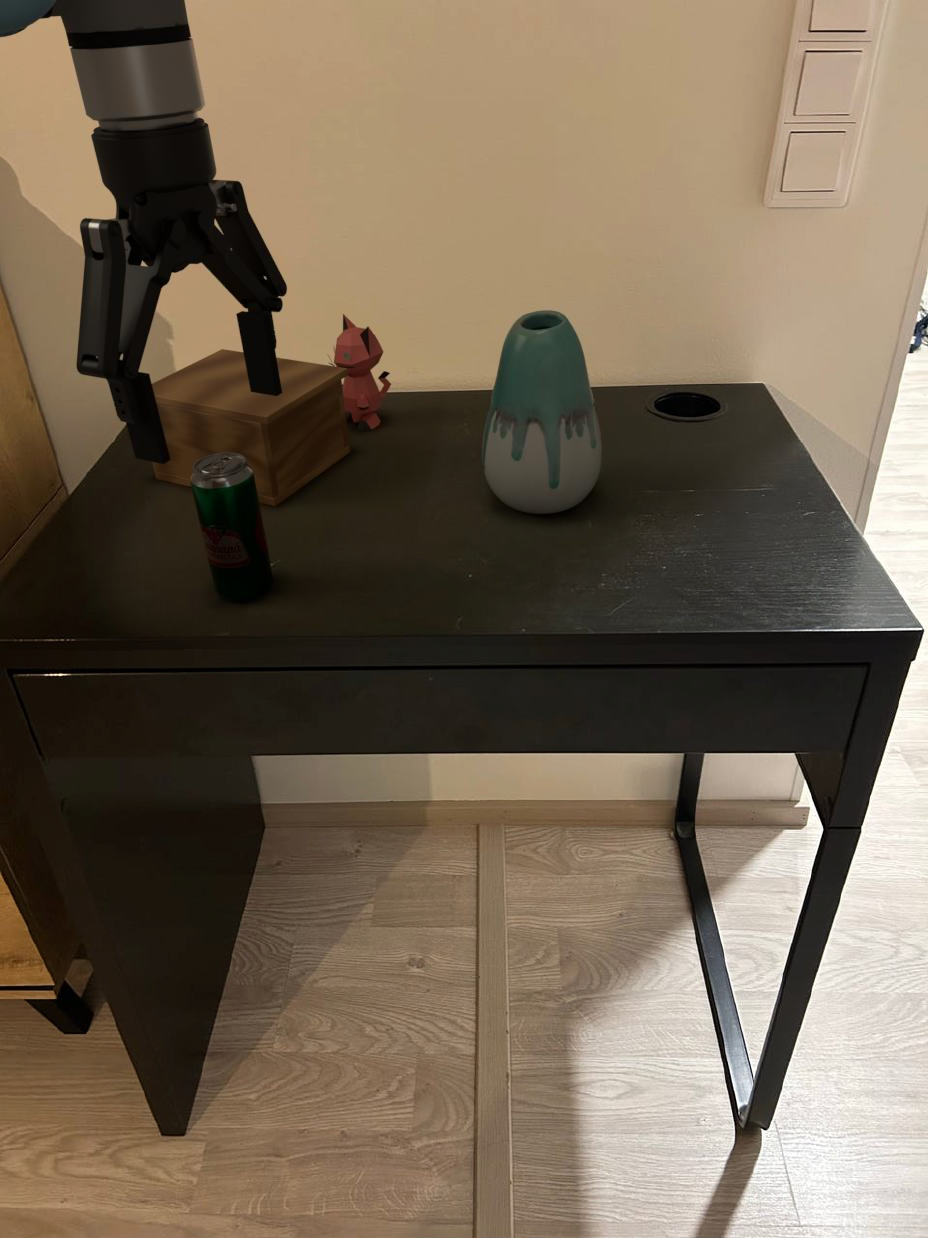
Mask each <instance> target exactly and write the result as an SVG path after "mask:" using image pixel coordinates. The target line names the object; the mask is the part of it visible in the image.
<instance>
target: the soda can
mask: <svg viewBox="0 0 928 1238" xmlns="http://www.w3.org/2000/svg"><path fill="white" fill-rule="evenodd" d="M192 471H193V473H192V476H191V478H190V483H191V487H190V488H191V492H192V496H193V500H194V506H195V509H196V514H197V519H198V522H199V528H200V531H201V537H202V540H203V544H204V548H205V549H204V550H205V554H206V558H207V562H208V567H209V571H210V575H211V579H212V580H211V581H212V584H213V589H214V592H215V593H216V594H217V595H218V596H219V597H220V598H222V599H224V600H226V601H229V602H231V603H232V602H233V603H247V602H251V601H254V600H256V599H259V598H262V597H263V596H264V595H265V594H266V593H267V592H268V591H269V590H270V588H271V587H272V585H273V584H274V576H273V570H272V564H271V558H270V553H269V548H268V542H267V538H266V537H267V536H266V532H265V527H264V520H263V516H262V510H261V505H260V504H261V503H259V499H258V493H257V488H256V483H255V477H254V472H253V469H252V468H251V467H250V466H249V465H248V464H247V460H246V458H245V457H244V456H242V455H240V454H237V453H227V452H226V453H216V454H211V455H208V456H205V457H203V458H200V459H199V460H197V461H196V462H195V463H194V464H193V466H192Z"/></svg>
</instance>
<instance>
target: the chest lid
mask: <svg viewBox="0 0 928 1238" xmlns="http://www.w3.org/2000/svg"><path fill="white" fill-rule="evenodd" d="M276 358H277V364H278V370H279V376H280V382H281V388H282V393H281V394H280V395H278V396H273V395H267V394H261V393H255V392H251V390H250V385H249V380H248V374H247V369H246V364H245V358H244V353H243V351H238V350H231V349H225V348H222V349H219V350H218V351H215V352H213V353H211V354H210V355H207V356H205V357H203V358H201V359H199V360H197V361H195V362H193V363H191V364H189V365H187V366H185V367H183V368H181V369H179V370H177V371H175V372H172V373H171V374H169V375H167V376H165V377H163V378H161V379H159V380H157V381H154V382H153V383H152V382H151V383H152V387H153V391H154V395H155V399H156V403H157V404H163V405H168V406H173V407H179V408H184V409H189V410H194V411H200V412H205V413H210V414H215V415H221V416H226V417H231V418H236V419H242V420H247V421H252V422H257V423H263V424H270V423H271V422H273V421H275V420H276V419H278V418H280V417H281V416H283V415H284V414H286V413H288V412H289V411H291V410H293V409H294V408H296V407H297V406H299V405H301V404H302V403H304V402H306V401H307V400H309V399H310V398H312V397H314V396H315V395H317V394H319V393H320V392H322V391H323V390H325V389H327V388H328V387H330V386H332V385H333V384H335V383H336V382H338V381H340V380H341V381H342V380H344V378H345V377H346V376H348V371H347V368H342V367H336V365H334V366H332V365H330V364H320V363H317V362H308V361H303V360H297V359H289V358H283V357H277V356H276Z"/></svg>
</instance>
